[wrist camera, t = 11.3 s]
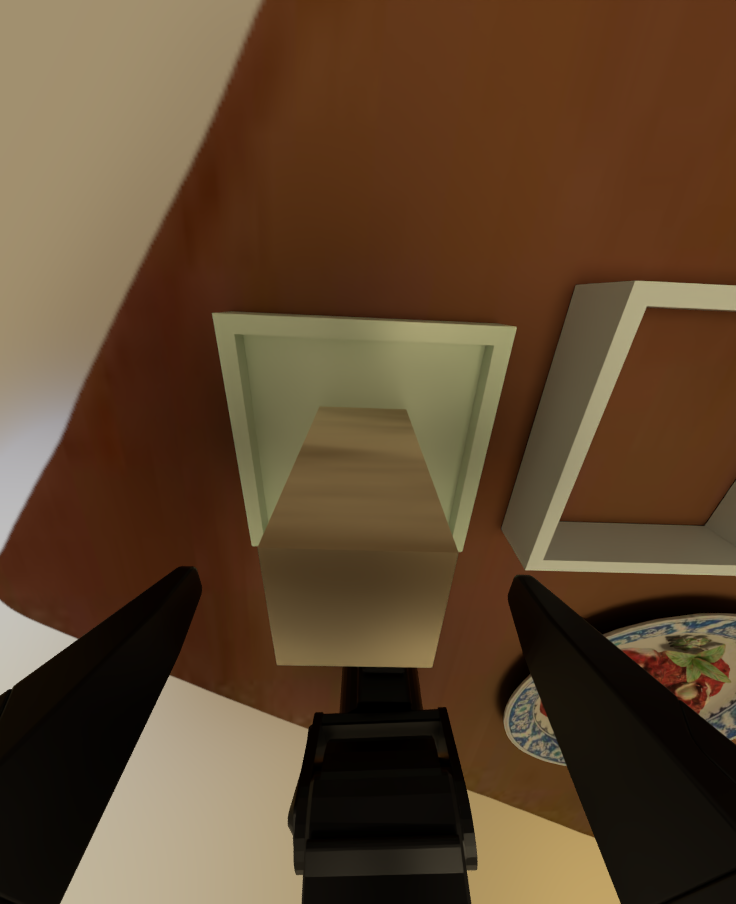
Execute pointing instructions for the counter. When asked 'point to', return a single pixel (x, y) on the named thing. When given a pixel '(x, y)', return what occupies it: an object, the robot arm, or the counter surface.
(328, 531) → the birch peg
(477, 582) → the counter surface
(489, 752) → the counter surface
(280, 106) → the counter surface
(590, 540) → the frame
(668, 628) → the ceramic plate
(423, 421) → the tray
